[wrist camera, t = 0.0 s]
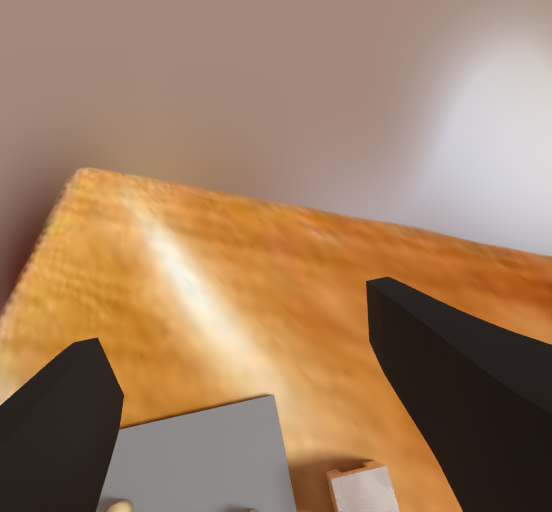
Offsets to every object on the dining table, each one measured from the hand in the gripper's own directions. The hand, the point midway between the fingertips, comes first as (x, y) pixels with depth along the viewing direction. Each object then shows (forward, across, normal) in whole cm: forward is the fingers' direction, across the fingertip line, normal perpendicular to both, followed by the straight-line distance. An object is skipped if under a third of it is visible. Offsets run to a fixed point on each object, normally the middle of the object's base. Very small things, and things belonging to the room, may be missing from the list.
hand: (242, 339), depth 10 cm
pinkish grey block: (+14, -6, +31) cm, 34 cm away
